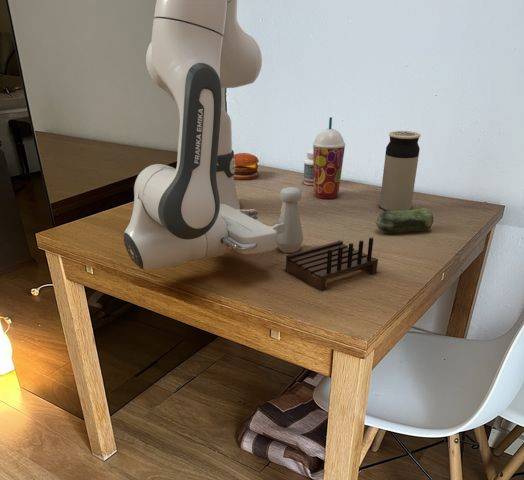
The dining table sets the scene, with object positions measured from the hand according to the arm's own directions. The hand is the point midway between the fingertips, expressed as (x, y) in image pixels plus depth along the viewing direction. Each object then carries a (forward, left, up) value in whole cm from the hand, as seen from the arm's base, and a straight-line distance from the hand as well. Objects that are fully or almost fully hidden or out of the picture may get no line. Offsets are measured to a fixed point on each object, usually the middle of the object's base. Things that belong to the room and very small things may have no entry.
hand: (269, 220), depth 110 cm
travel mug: (+23, +39, -8) cm, 46 cm away
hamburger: (-24, +57, -8) cm, 62 cm away
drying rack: (+14, -5, -7) cm, 17 cm away
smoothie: (+4, +44, -8) cm, 45 cm away
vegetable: (+26, +22, -8) cm, 35 cm away
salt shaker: (+3, +4, -8) cm, 9 cm away
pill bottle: (-2, +55, -8) cm, 55 cm away
